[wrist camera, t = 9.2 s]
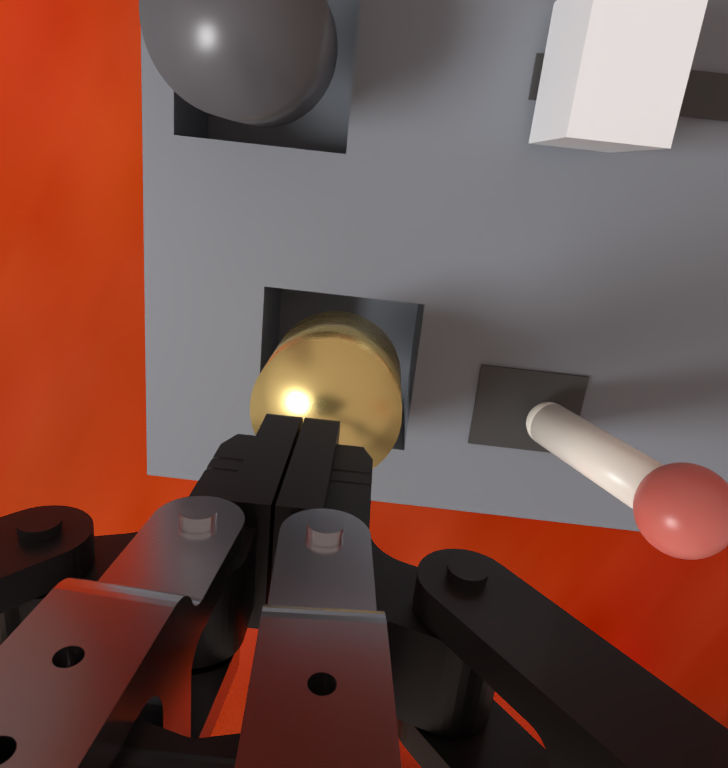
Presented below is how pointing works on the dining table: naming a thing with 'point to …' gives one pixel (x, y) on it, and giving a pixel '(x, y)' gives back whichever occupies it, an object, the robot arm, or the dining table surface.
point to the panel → (446, 260)
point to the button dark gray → (243, 55)
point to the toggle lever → (641, 483)
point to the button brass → (335, 380)
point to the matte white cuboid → (615, 73)
